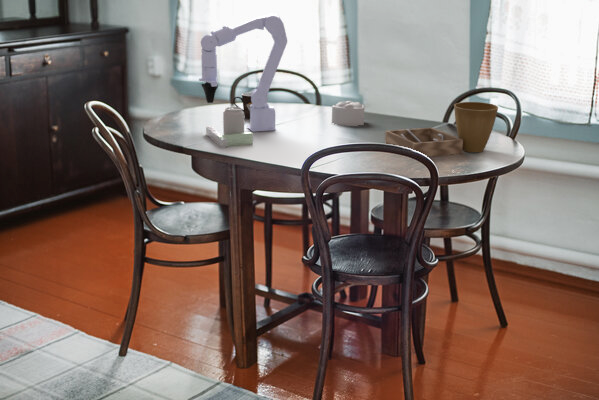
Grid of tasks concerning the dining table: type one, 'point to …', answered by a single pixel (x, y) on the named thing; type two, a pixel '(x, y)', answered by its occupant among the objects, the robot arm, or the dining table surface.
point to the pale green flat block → (229, 138)
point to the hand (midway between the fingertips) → (210, 102)
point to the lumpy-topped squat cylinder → (348, 113)
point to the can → (233, 120)
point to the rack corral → (426, 141)
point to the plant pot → (474, 124)
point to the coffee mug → (245, 104)
